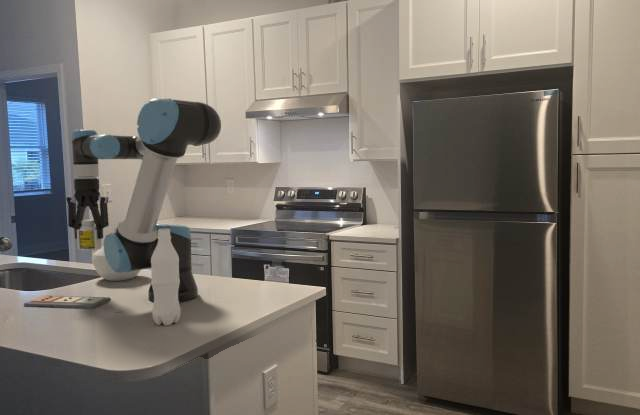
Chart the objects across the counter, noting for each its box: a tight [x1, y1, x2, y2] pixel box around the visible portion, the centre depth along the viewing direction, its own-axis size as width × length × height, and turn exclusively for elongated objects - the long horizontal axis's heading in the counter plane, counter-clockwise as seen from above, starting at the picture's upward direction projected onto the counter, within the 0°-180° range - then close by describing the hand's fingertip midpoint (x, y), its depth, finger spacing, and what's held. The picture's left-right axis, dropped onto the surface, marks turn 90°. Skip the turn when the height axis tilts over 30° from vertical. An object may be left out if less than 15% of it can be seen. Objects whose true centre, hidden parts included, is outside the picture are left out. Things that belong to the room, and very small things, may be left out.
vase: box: [91, 226, 141, 282], centre depth 198 cm, size 18×18×19 cm
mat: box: [23, 295, 112, 309], centre depth 163 cm, size 22×10×1 cm, turn 82°
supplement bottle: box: [80, 219, 96, 252], centre depth 176 cm, size 5×5×10 cm
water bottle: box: [150, 228, 182, 327], centre depth 141 cm, size 7×7×25 cm
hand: (89, 248), depth 176 cm, fingers closed on supplement bottle, 5 cm apart
